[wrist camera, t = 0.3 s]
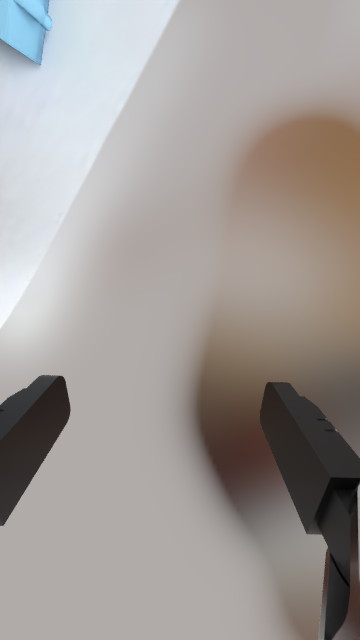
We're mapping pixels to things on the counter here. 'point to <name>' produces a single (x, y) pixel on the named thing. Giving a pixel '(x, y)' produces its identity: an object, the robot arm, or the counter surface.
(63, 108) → the counter surface
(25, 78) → the counter surface
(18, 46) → the teapot
